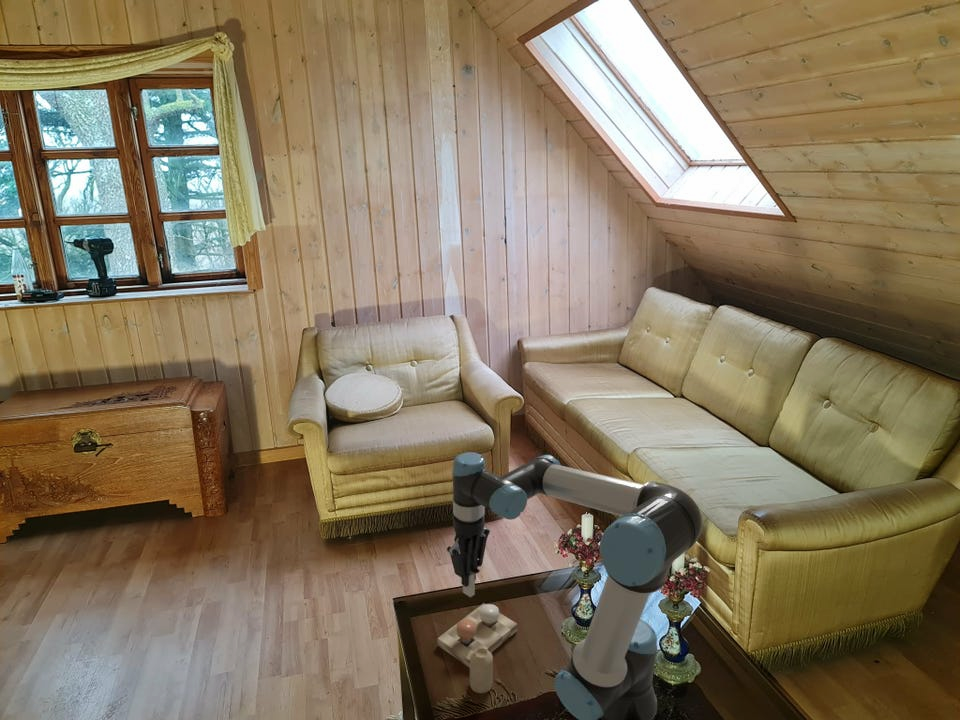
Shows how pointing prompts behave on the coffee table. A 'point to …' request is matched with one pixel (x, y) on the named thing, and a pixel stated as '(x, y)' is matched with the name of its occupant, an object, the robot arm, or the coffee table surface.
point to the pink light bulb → (466, 630)
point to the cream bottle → (481, 670)
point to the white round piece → (489, 614)
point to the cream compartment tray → (477, 636)
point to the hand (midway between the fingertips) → (468, 593)
